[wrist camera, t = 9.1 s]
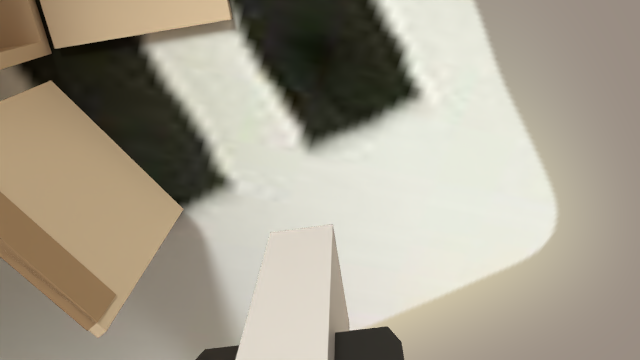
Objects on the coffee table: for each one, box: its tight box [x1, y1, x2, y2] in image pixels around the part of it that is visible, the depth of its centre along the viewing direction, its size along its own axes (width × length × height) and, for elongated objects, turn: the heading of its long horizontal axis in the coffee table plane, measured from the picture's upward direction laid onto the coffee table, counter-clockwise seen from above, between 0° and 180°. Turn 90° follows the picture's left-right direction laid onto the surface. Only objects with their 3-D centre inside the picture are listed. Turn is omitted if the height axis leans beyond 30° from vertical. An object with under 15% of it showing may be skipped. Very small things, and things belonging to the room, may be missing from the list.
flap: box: [0, 81, 183, 338], centre depth 22 cm, size 8×1×10 cm, turn 41°
